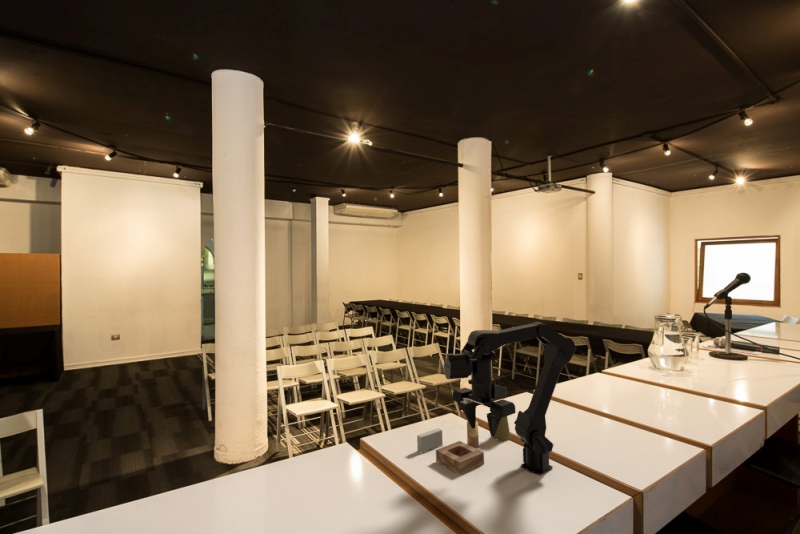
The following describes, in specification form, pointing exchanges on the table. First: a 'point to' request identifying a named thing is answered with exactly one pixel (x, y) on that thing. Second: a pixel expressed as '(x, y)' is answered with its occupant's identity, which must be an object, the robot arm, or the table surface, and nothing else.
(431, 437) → the wall
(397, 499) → the table surface
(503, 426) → the cork
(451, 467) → the socket block
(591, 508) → the table surface
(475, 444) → the dowel
